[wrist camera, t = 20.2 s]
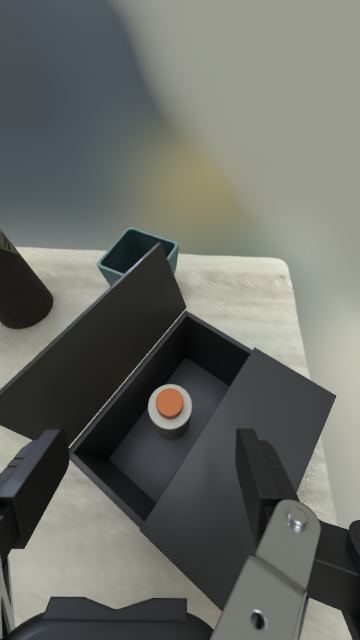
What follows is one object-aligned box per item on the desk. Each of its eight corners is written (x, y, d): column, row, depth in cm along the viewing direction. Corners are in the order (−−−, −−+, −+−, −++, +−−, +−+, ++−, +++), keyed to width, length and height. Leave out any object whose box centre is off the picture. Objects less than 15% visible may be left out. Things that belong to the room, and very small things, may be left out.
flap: (-22, 415, 15) (-24, 411, 15) (62, 454, 20) (59, 451, 20) (161, 243, 22) (157, 242, 22) (186, 307, 27) (183, 306, 27)
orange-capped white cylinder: (173, 448, 31) (172, 437, 23) (147, 423, 33) (136, 404, 24) (196, 418, 33) (202, 398, 24) (170, 396, 34) (167, 370, 26)
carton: (216, 564, 26) (240, 631, 15) (103, 460, 31) (60, 453, 20) (286, 421, 33) (337, 395, 22) (185, 354, 38) (185, 305, 27)
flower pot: (110, 301, 43) (94, 264, 35) (137, 265, 47) (128, 225, 39) (156, 321, 41) (149, 286, 33) (180, 282, 45) (180, 242, 37)
